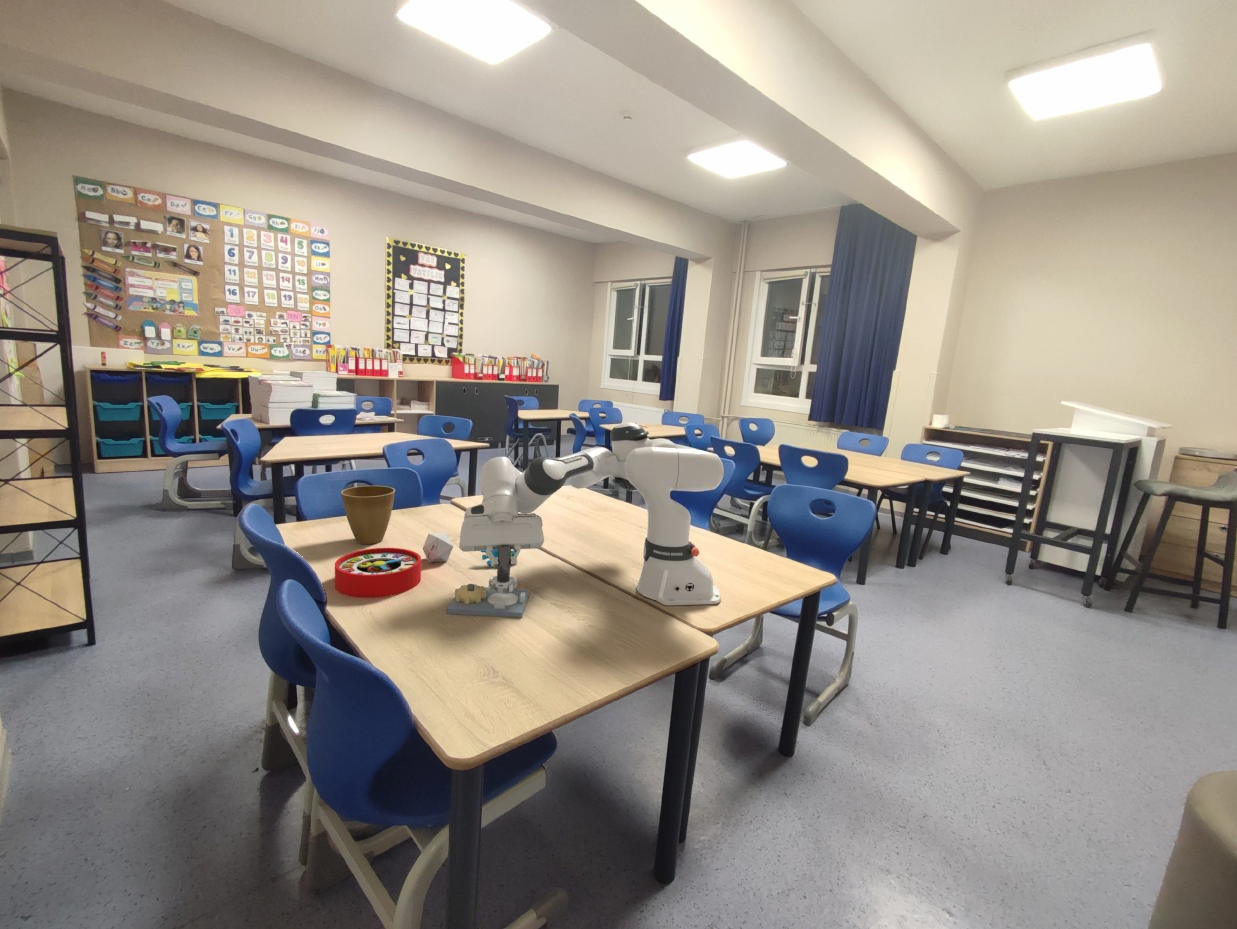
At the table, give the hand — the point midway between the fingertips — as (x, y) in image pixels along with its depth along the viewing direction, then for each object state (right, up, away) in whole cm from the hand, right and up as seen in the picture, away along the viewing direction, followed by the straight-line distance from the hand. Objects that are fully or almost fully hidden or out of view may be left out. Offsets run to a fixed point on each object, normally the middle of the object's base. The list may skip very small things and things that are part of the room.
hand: (504, 565), depth 126 cm
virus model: (-7, -5, +28) cm, 29 cm away
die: (-25, -4, +27) cm, 37 cm away
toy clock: (-34, -6, +9) cm, 36 cm away
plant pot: (-50, 0, +38) cm, 63 cm away
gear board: (-4, -10, +2) cm, 10 cm away
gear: (-1, -6, +2) cm, 6 cm away
